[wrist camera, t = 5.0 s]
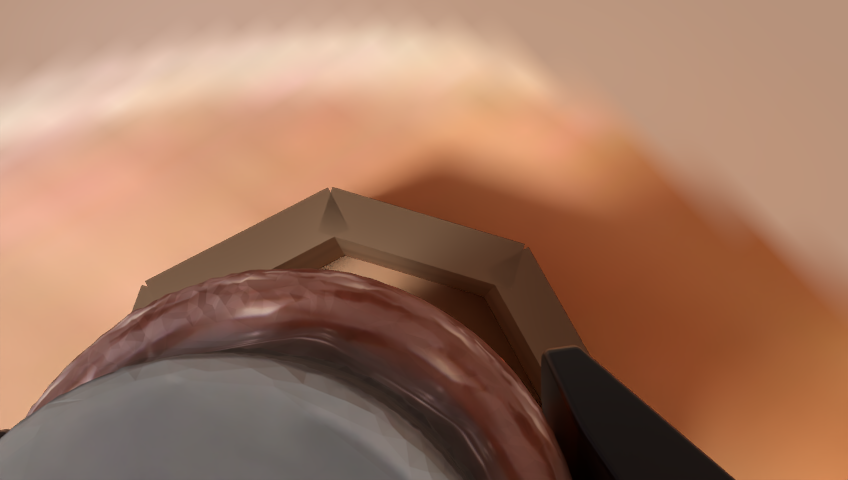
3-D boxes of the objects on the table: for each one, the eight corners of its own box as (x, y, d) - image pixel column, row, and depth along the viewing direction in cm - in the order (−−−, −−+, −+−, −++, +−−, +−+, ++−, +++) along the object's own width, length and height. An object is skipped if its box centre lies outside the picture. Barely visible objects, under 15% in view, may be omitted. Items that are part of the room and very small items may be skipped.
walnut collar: (670, 545, 17) (714, 573, 15) (257, 789, 16) (229, 865, 14) (451, 154, 19) (457, 121, 16) (61, 356, 18) (4, 353, 15)
